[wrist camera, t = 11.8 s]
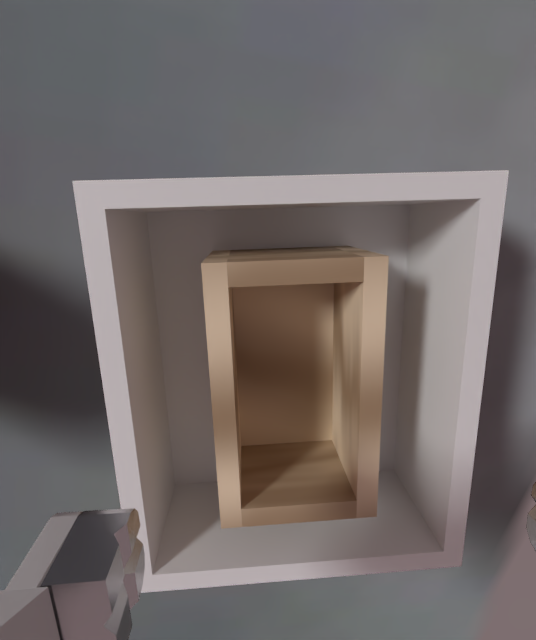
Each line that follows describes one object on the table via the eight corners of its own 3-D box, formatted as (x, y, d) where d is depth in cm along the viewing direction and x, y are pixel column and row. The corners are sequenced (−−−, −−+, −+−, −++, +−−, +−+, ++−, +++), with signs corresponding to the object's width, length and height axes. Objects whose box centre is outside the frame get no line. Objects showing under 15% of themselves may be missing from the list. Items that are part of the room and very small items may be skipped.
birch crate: (212, 250, 17) (200, 263, 12) (347, 245, 17) (388, 255, 13) (225, 452, 20) (220, 528, 15) (343, 444, 20) (376, 516, 15)
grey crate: (130, 193, 17) (72, 180, 11) (421, 186, 18) (508, 170, 12) (163, 488, 21) (133, 593, 15) (402, 472, 21) (461, 566, 16)
